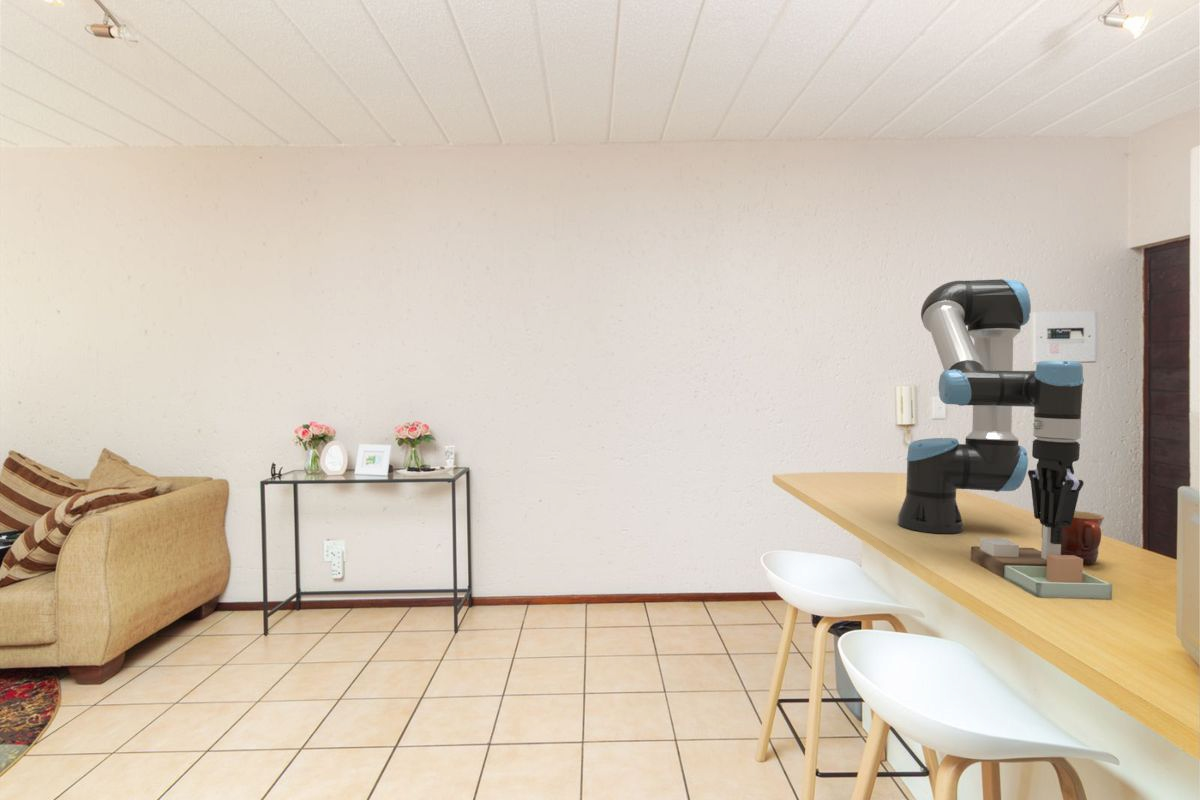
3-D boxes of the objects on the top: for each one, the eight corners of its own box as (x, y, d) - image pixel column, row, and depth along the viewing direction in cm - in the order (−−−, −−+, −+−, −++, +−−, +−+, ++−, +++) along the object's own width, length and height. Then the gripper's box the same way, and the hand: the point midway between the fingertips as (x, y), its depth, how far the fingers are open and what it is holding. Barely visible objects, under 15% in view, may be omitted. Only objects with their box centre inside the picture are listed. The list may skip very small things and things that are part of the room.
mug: (1044, 553, 144) (1046, 508, 144) (1087, 556, 142) (1090, 511, 142) (1071, 569, 132) (1074, 520, 132) (1120, 573, 131) (1122, 523, 130)
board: (970, 560, 138) (971, 546, 138) (1032, 561, 138) (1033, 547, 138) (1002, 577, 127) (1003, 562, 126) (1070, 579, 126) (1071, 564, 126)
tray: (1003, 578, 126) (1004, 565, 126) (1071, 580, 126) (1072, 567, 126) (1037, 596, 116) (1038, 582, 116) (1111, 599, 115) (1112, 584, 115)
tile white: (979, 549, 136) (980, 538, 136) (1004, 550, 136) (1004, 538, 135) (993, 556, 131) (993, 544, 131) (1018, 557, 131) (1018, 545, 130)
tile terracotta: (1047, 554, 123) (1055, 558, 121) (1074, 555, 123) (1083, 559, 121) (1046, 580, 124) (1054, 584, 121) (1072, 580, 123) (1082, 585, 121)
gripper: (1016, 435, 132) (1011, 549, 133) (1058, 443, 119) (1052, 568, 120) (1053, 436, 131) (1048, 549, 132) (1100, 443, 118) (1094, 569, 119)
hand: (1050, 558), depth 126 cm, fingers closed
